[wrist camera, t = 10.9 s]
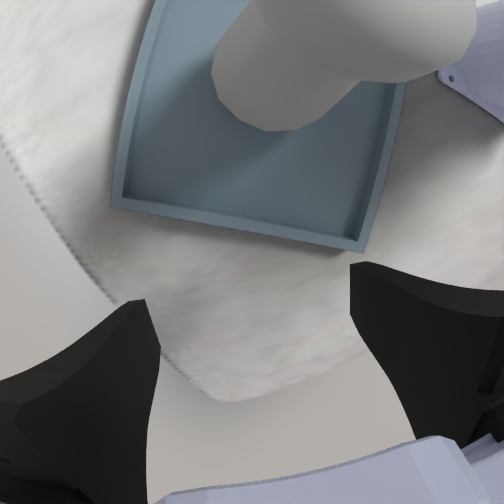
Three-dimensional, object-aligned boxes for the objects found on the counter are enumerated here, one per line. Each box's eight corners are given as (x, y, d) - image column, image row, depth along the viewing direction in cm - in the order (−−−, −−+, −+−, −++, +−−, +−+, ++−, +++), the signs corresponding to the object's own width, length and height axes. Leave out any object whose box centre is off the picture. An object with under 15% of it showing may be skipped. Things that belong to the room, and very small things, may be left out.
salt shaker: (281, 154, 16) (449, 206, 4) (190, 93, 15) (110, -32, 2) (342, 72, 15) (539, 5, 3) (255, 12, 13) (329, -167, 1)
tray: (401, 34, 15) (413, 29, 13) (353, 245, 19) (363, 253, 17) (173, -28, 12) (170, -39, 11) (117, 201, 17) (109, 207, 15)
